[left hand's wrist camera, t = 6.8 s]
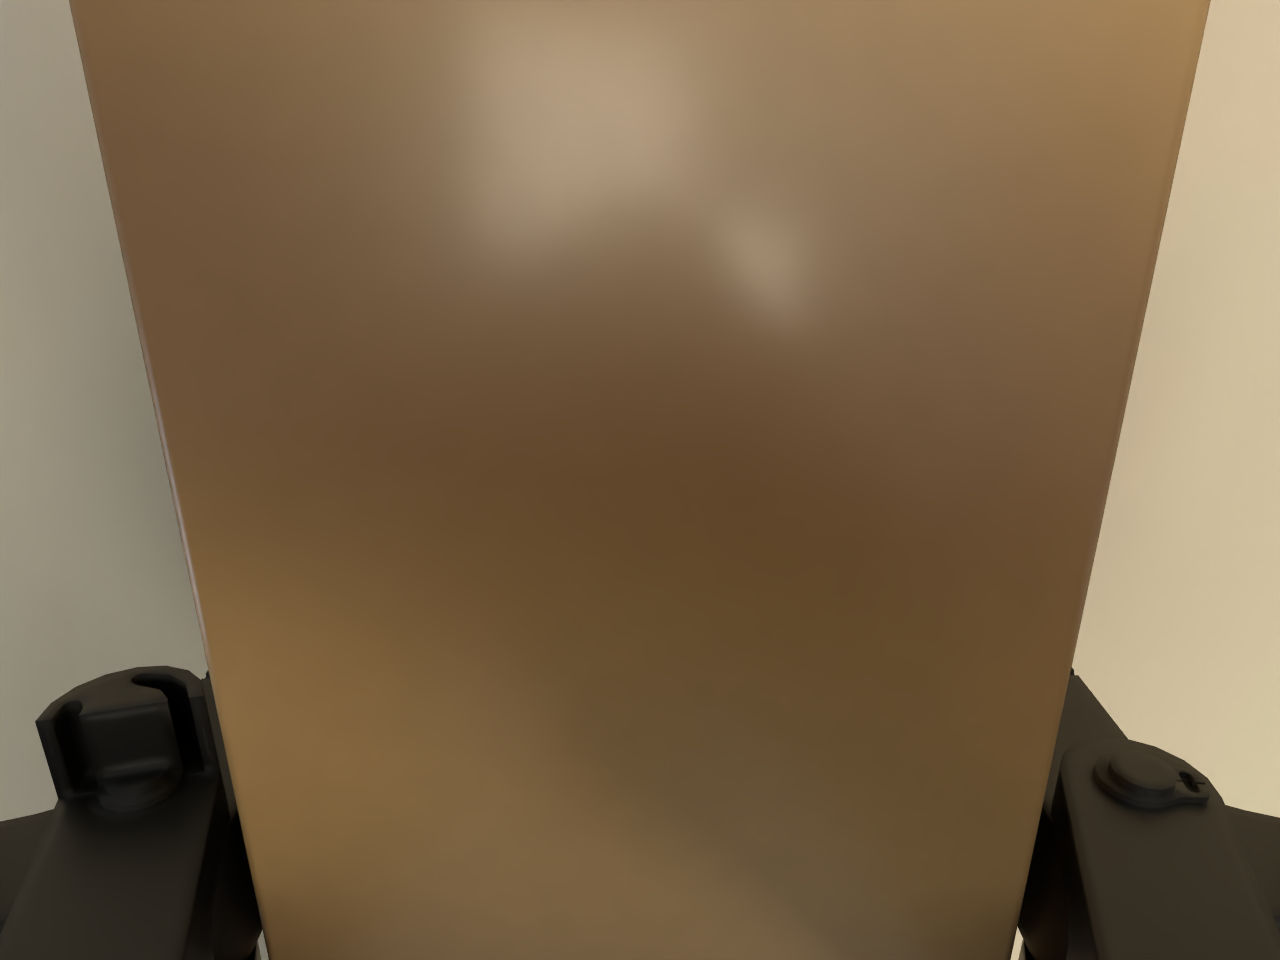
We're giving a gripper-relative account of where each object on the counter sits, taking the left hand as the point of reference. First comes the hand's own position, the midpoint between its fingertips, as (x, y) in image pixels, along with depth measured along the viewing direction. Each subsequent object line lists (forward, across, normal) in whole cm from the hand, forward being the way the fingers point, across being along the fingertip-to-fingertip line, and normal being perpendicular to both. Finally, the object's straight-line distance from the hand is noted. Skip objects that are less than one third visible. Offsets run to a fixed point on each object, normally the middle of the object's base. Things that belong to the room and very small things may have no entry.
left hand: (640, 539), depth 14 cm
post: (+1, 0, -33) cm, 33 cm away
